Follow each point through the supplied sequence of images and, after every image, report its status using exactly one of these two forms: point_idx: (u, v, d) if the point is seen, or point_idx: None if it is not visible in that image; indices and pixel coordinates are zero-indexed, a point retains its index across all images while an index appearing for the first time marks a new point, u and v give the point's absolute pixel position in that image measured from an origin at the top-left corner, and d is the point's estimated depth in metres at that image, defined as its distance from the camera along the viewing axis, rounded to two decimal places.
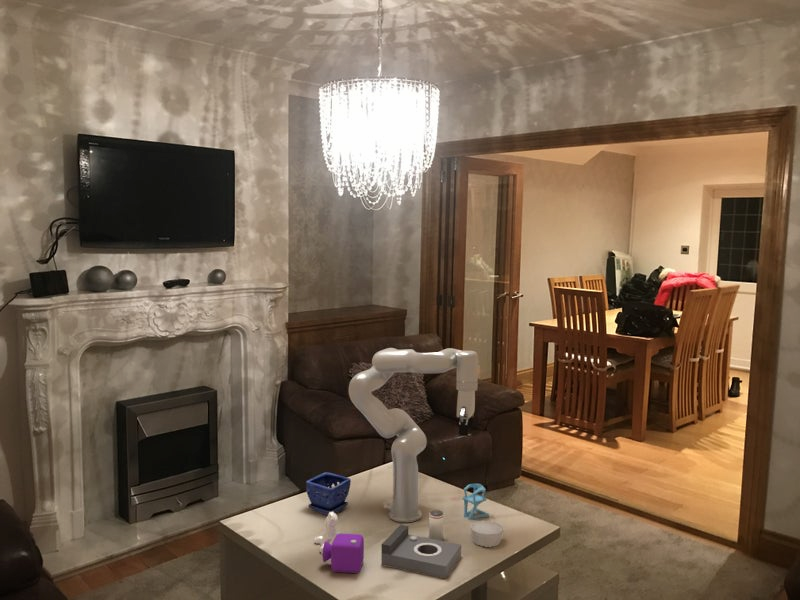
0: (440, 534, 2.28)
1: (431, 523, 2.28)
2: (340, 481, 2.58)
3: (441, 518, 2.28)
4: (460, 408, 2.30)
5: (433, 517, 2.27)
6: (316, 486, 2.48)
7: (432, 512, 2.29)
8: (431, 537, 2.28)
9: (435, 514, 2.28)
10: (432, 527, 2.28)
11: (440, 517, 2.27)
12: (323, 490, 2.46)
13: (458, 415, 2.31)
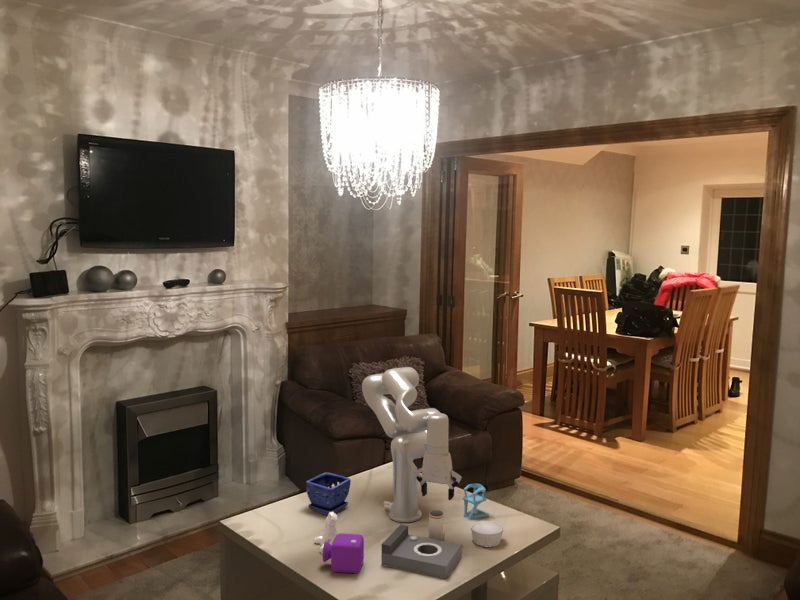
0: (440, 534, 2.28)
1: (431, 523, 2.28)
2: (340, 481, 2.58)
3: (441, 518, 2.28)
4: (450, 472, 2.25)
5: (433, 517, 2.27)
6: (316, 486, 2.48)
7: (432, 512, 2.29)
8: (431, 537, 2.28)
9: (435, 514, 2.28)
10: (432, 527, 2.28)
11: (440, 517, 2.27)
12: (323, 490, 2.46)
13: (449, 480, 2.24)
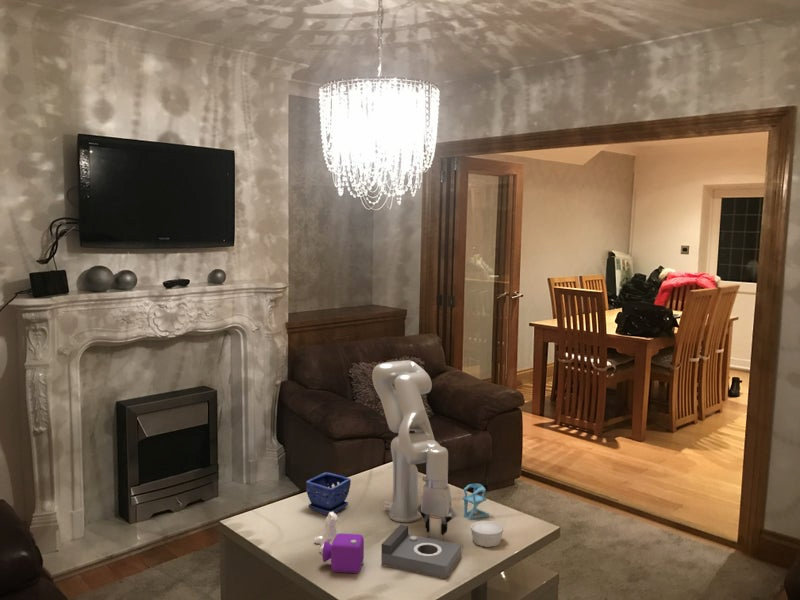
0: (440, 534, 2.28)
1: (431, 523, 2.28)
2: (340, 481, 2.58)
3: (441, 518, 2.28)
4: (449, 506, 2.26)
5: (433, 517, 2.27)
6: (316, 486, 2.48)
7: None
8: (431, 537, 2.28)
9: None
10: (432, 527, 2.28)
11: (440, 517, 2.27)
12: (323, 490, 2.46)
13: (448, 514, 2.25)
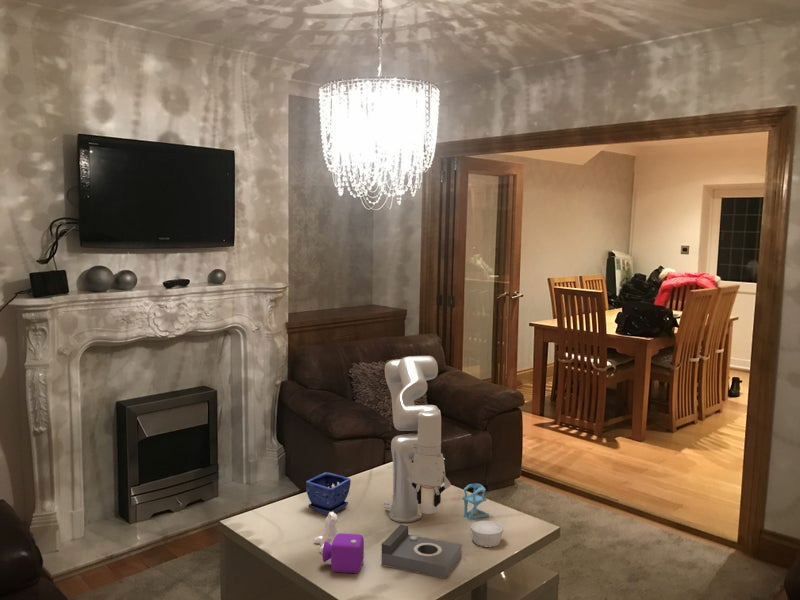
0: (433, 505, 2.10)
1: (423, 494, 2.10)
2: (340, 481, 2.58)
3: (434, 488, 2.10)
4: (442, 474, 2.08)
5: (425, 487, 2.09)
6: (316, 486, 2.48)
7: None
8: (423, 509, 2.10)
9: None
10: (424, 498, 2.09)
11: (432, 487, 2.09)
12: (323, 490, 2.46)
13: (441, 483, 2.07)
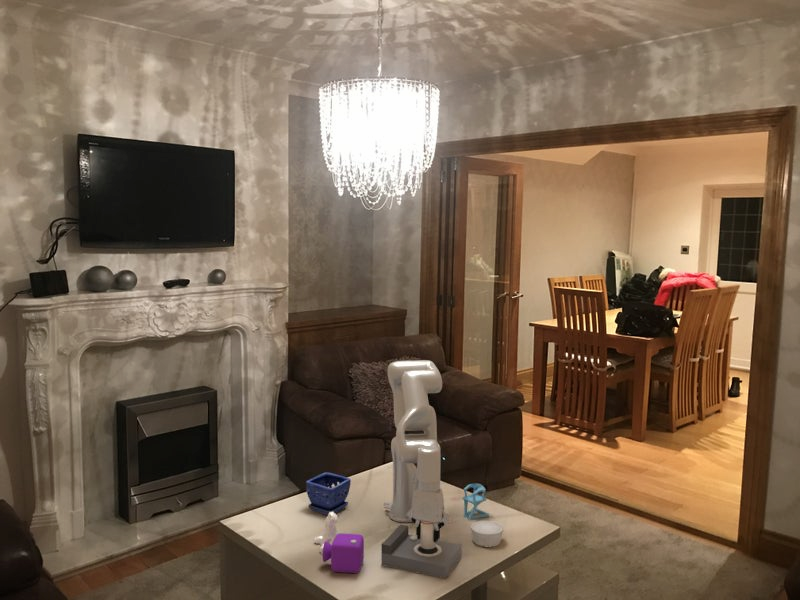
0: (433, 541, 2.10)
1: (422, 529, 2.10)
2: (340, 481, 2.58)
3: None
4: (441, 510, 2.09)
5: (424, 523, 2.10)
6: (316, 486, 2.48)
7: None
8: (422, 544, 2.11)
9: None
10: (424, 533, 2.10)
11: (432, 522, 2.10)
12: (323, 490, 2.46)
13: (440, 519, 2.08)
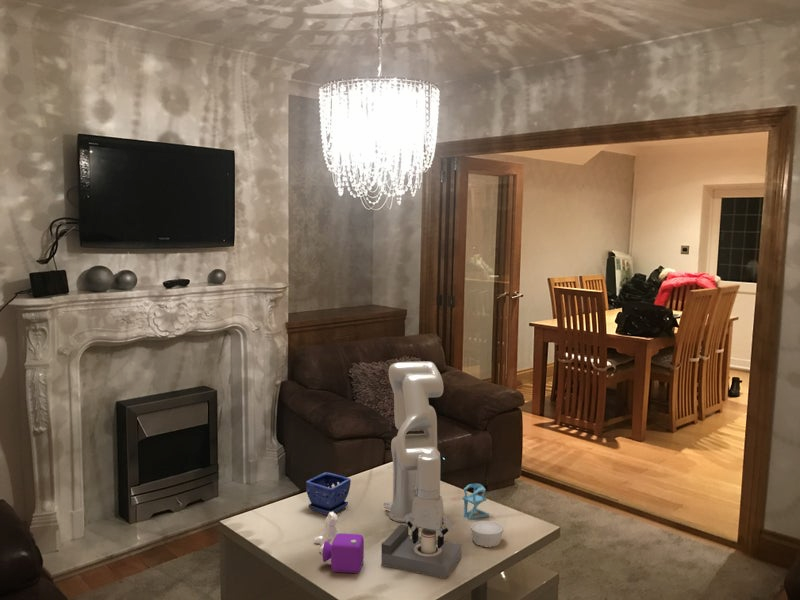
0: None
1: (423, 542, 2.11)
2: (340, 481, 2.58)
3: (434, 537, 2.11)
4: (441, 518, 2.09)
5: (425, 536, 2.10)
6: (316, 486, 2.48)
7: (424, 530, 2.12)
8: None
9: (427, 533, 2.11)
10: (424, 546, 2.11)
11: (432, 536, 2.10)
12: (323, 490, 2.46)
13: (440, 527, 2.08)
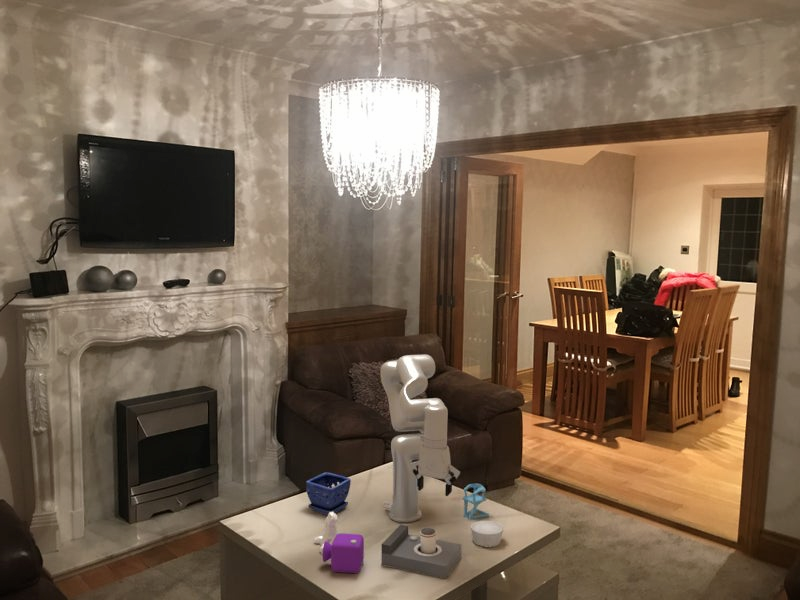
0: None
1: (422, 542, 2.11)
2: (340, 481, 2.58)
3: (433, 537, 2.11)
4: (448, 467, 2.12)
5: (424, 536, 2.10)
6: (316, 486, 2.48)
7: (423, 530, 2.13)
8: None
9: (426, 532, 2.11)
10: (423, 546, 2.11)
11: (431, 535, 2.10)
12: (323, 490, 2.46)
13: (446, 475, 2.12)
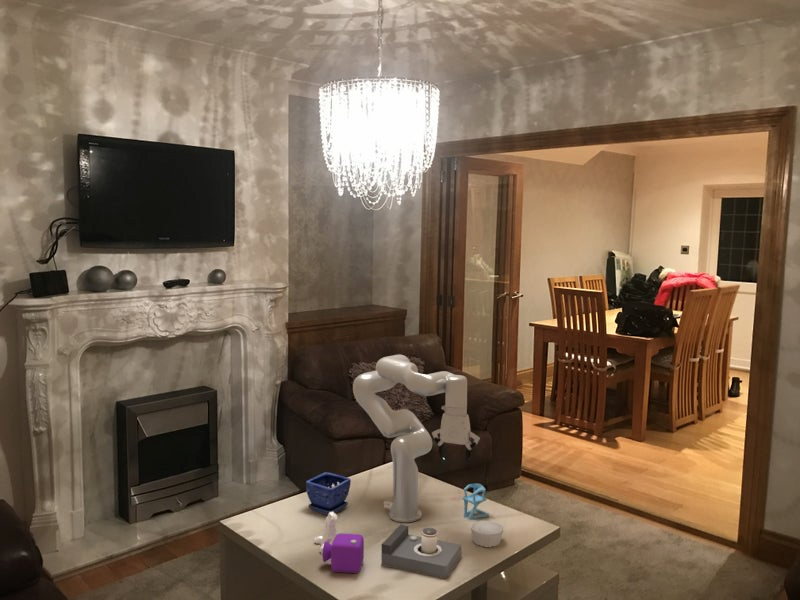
0: None
1: (423, 542, 2.11)
2: (340, 481, 2.58)
3: (434, 537, 2.11)
4: (468, 433, 2.26)
5: (425, 535, 2.10)
6: (316, 486, 2.48)
7: (425, 530, 2.13)
8: None
9: (428, 532, 2.11)
10: (424, 546, 2.11)
11: (432, 536, 2.10)
12: (323, 490, 2.46)
13: (467, 441, 2.26)
